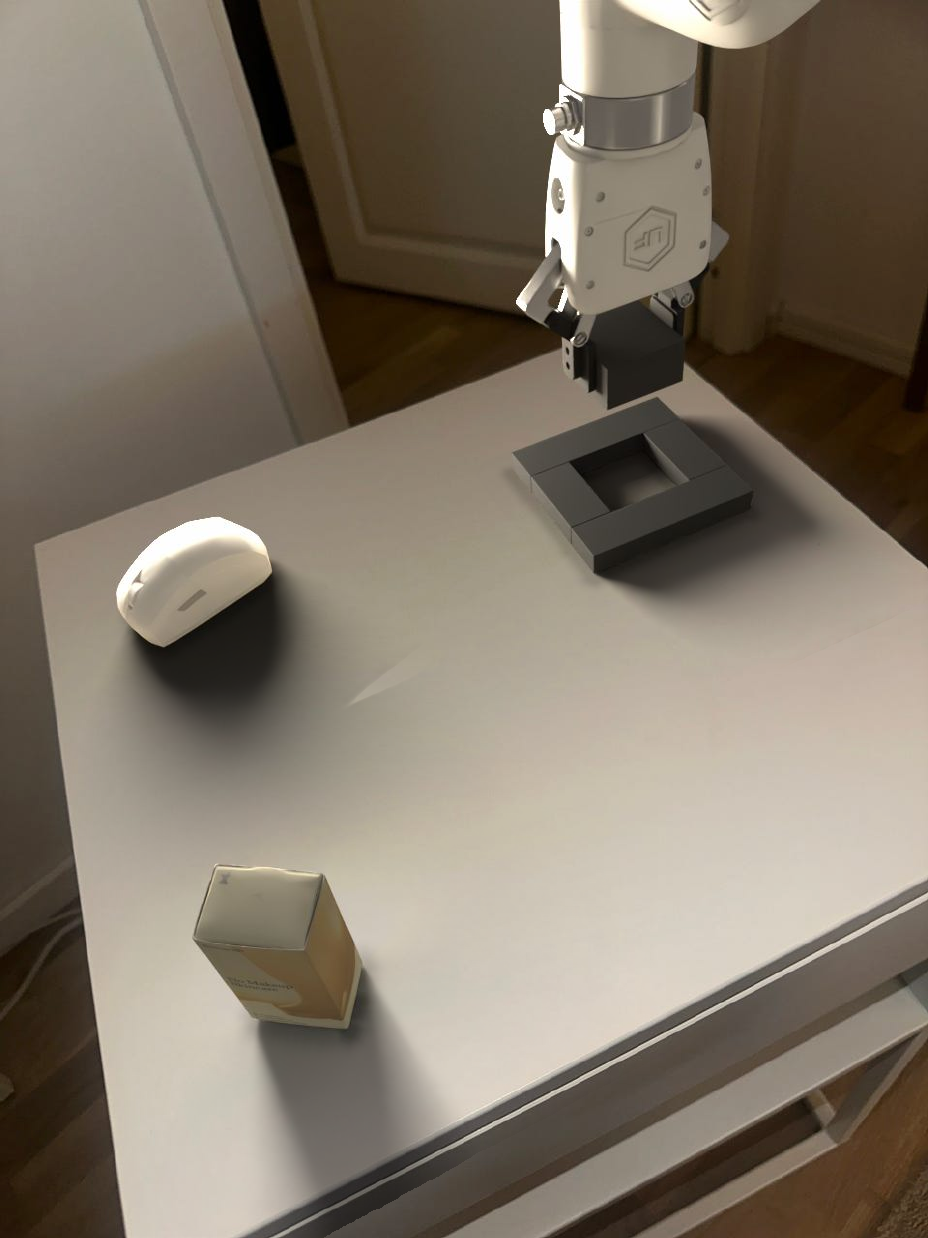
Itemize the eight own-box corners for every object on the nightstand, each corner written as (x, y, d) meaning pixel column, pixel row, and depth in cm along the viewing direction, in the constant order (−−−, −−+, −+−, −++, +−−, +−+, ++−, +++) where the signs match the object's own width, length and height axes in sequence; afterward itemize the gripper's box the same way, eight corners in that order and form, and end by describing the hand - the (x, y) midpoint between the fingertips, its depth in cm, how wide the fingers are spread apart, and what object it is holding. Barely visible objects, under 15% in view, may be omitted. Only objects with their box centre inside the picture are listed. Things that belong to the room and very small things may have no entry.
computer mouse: (117, 616, 81) (87, 565, 76) (244, 534, 85) (223, 481, 81) (155, 658, 77) (126, 606, 72) (285, 569, 82) (266, 516, 77)
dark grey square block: (637, 339, 73) (638, 299, 70) (682, 381, 69) (686, 339, 66) (564, 366, 71) (563, 326, 69) (607, 410, 67) (607, 369, 65)
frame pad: (656, 413, 90) (657, 396, 88) (751, 508, 81) (754, 490, 79) (512, 469, 87) (511, 452, 86) (594, 574, 78) (593, 556, 76)
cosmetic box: (250, 1020, 57) (182, 940, 48) (269, 949, 60) (208, 860, 51) (354, 1032, 56) (305, 952, 47) (368, 959, 59) (325, 870, 50)
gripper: (525, 173, 52) (541, 435, 65) (792, 85, 55) (755, 352, 69) (467, 125, 57) (493, 380, 70) (716, 47, 60) (695, 304, 74)
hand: (623, 364), depth 69 cm, fingers closed on dark grey square block, 6 cm apart
